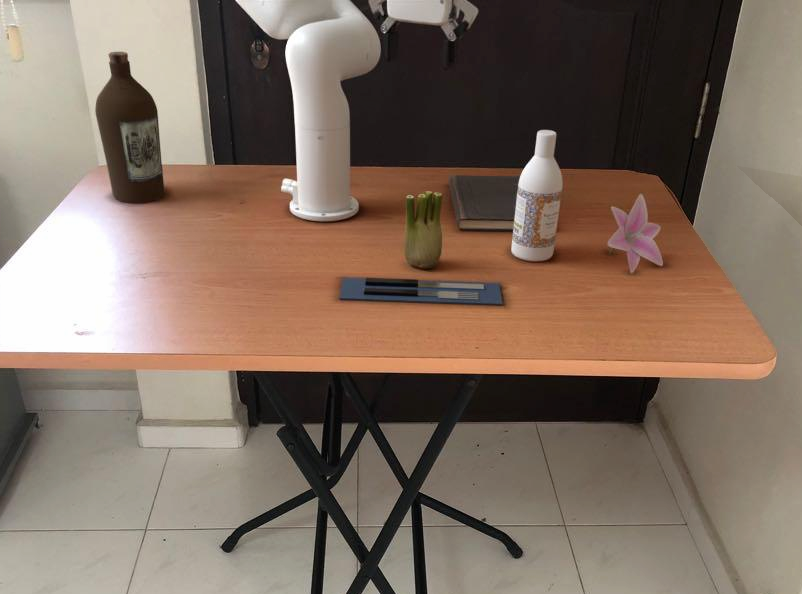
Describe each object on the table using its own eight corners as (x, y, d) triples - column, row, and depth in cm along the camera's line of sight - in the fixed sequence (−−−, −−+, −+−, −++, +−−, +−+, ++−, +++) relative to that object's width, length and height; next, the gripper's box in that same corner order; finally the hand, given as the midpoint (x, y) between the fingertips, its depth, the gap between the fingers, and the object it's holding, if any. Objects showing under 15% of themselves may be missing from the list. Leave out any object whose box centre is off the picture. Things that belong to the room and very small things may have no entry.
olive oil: (99, 193, 156) (74, 51, 142) (149, 181, 163) (130, 44, 149) (128, 208, 150) (104, 62, 136) (178, 195, 156) (161, 54, 143)
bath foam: (529, 266, 134) (545, 141, 123) (502, 251, 139) (514, 129, 127) (561, 257, 137) (579, 134, 126) (533, 242, 142) (548, 123, 131)
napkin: (339, 299, 122) (339, 297, 122) (343, 279, 128) (343, 277, 128) (502, 305, 122) (502, 303, 122) (498, 284, 128) (499, 283, 128)
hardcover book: (528, 187, 165) (530, 176, 164) (548, 232, 146) (549, 219, 145) (448, 186, 165) (449, 174, 163) (457, 230, 146) (458, 218, 144)
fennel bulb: (402, 269, 132) (404, 196, 125) (406, 257, 136) (409, 185, 129) (438, 273, 131) (442, 199, 124) (442, 260, 135) (446, 188, 128)
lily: (588, 277, 133) (623, 237, 126) (576, 225, 140) (609, 183, 132) (650, 294, 137) (687, 256, 130) (635, 242, 144) (670, 203, 136)
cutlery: (363, 296, 123) (363, 292, 122) (365, 281, 127) (365, 277, 127) (485, 300, 123) (485, 296, 122) (483, 285, 127) (483, 281, 126)
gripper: (492, -63, 117) (481, 66, 126) (382, -71, 123) (381, 53, 132) (471, -59, 111) (462, 75, 120) (358, -68, 117) (358, 61, 127)
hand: (419, 63), depth 126 cm, fingers open, 9 cm apart
